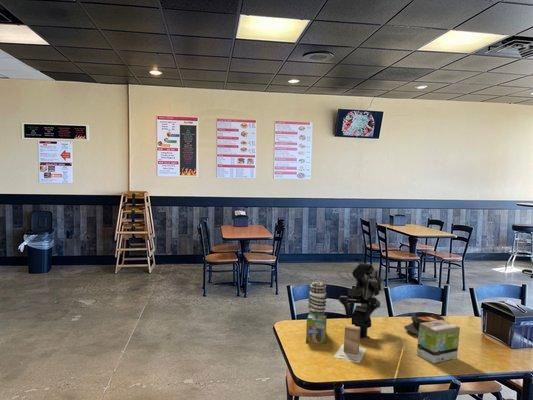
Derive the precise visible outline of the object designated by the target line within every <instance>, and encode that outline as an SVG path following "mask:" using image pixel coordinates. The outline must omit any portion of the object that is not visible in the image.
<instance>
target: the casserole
mask: <svg viewBox="0 0 533 400" xmlns="http://www.w3.org/2000/svg"><path fill="white" fill-rule="evenodd" d="M410 319H411V321H412V322H411V323H410V324H407V325H405V326H404V330H406V331H407V332H409V333H412V334H414V335H417V336H418V335H419V325H420V323H425V322H432V321H438V320H444V321H446V320H445V318H444V317H443V316H441V315H440V314H439V315H438V314H436V313H432V312H427V311H426V312H425V311H418V312H414V313H413V314H412V315H411V318H410Z"/></svg>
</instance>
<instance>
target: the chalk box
mask: <svg viewBox="0 0 533 400" xmlns="http://www.w3.org/2000/svg"><path fill="white" fill-rule="evenodd" d="M327 318H328V316H327V315H325V314H324V315H319V314H317V311H316V309H315V314H309V313H308V315H307V318H306V330H305V331H306V332H305V333H306V334H305V335H306V337H305V344H308V343H318V344H324V345H326V339H327V321H328V319H327Z"/></svg>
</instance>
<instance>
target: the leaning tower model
mask: <svg viewBox="0 0 533 400" xmlns="http://www.w3.org/2000/svg"><path fill="white" fill-rule="evenodd" d="M309 286H310V289H309V295H308V297H307V298H308V300H307V301H308V303H307V304H308V306H307V307H308V310H309V312H308V314H315V309H316V311H317V314H319V315H325V311H326V308H325V307H326V306H327V304H326V303H327V301H326V300H327V299H328V298H327V297H328V294H327V292H326V291H327V289H326V288H327V286H326V284H325V283H324V282H323V281H313V282H312V283H311V284H310V285H309Z"/></svg>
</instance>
